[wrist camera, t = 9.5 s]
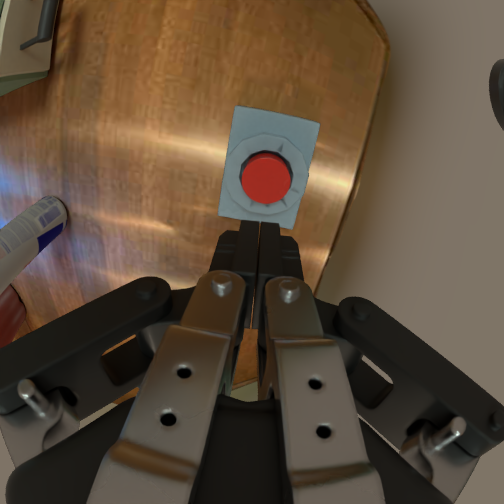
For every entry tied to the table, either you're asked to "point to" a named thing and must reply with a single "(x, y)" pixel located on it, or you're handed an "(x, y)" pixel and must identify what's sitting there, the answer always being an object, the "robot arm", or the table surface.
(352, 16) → the table surface
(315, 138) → the control block
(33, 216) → the beverage can
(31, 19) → the drawer
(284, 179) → the button
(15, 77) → the cabinet casing
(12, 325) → the flower pot
